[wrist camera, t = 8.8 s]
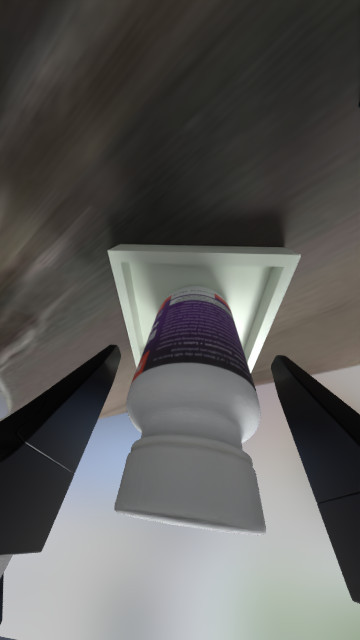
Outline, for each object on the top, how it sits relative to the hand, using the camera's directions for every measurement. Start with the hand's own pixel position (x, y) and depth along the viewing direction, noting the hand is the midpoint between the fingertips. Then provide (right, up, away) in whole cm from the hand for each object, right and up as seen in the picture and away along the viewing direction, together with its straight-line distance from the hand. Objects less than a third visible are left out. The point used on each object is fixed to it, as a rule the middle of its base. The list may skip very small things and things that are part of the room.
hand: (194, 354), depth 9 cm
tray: (0, +3, +3) cm, 4 cm away
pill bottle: (0, +2, +3) cm, 4 cm away
